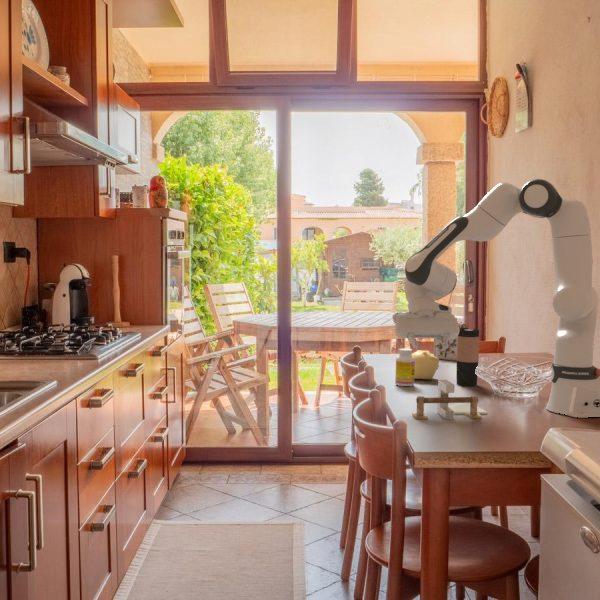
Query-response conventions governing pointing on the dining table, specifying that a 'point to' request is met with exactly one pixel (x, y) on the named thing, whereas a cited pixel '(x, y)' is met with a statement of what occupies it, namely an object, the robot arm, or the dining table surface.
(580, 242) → the robot arm
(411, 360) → the supplement bottle
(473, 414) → the rail stand
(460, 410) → the tile
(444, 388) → the c link
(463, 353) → the travel mug
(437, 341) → the decorative jar
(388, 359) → the dining table surface
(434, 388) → the dining table surface
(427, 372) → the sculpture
